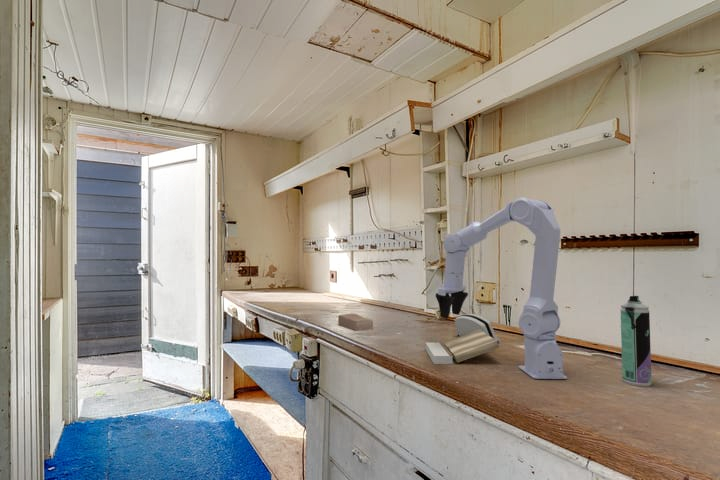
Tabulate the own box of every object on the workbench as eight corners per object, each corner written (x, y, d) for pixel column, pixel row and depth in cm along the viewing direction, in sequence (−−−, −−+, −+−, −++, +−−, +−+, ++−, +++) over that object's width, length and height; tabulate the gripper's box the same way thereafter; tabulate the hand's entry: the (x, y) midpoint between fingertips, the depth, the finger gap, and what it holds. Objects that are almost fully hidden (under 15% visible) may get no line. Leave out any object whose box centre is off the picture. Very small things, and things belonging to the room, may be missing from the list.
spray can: (653, 388, 85) (650, 297, 86) (623, 383, 88) (620, 296, 89) (650, 381, 89) (647, 295, 90) (621, 377, 92) (619, 294, 93)
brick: (374, 329, 153) (374, 318, 153) (356, 332, 149) (356, 319, 149) (354, 323, 168) (354, 313, 168) (337, 325, 163) (337, 314, 164)
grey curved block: (501, 343, 128) (493, 315, 127) (491, 349, 126) (483, 321, 125) (468, 334, 143) (460, 309, 142) (458, 339, 141) (450, 314, 140)
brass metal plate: (499, 347, 103) (496, 340, 104) (457, 362, 104) (454, 355, 104) (481, 335, 119) (479, 329, 120) (445, 348, 120) (443, 342, 120)
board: (452, 364, 104) (452, 354, 104) (434, 364, 104) (433, 354, 104) (441, 349, 120) (441, 341, 120) (425, 349, 120) (425, 341, 120)
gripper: (452, 269, 127) (449, 309, 127) (431, 272, 116) (427, 316, 116) (473, 272, 122) (469, 314, 123) (452, 275, 111) (448, 321, 112)
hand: (450, 315), depth 119 cm, fingers open, 7 cm apart
